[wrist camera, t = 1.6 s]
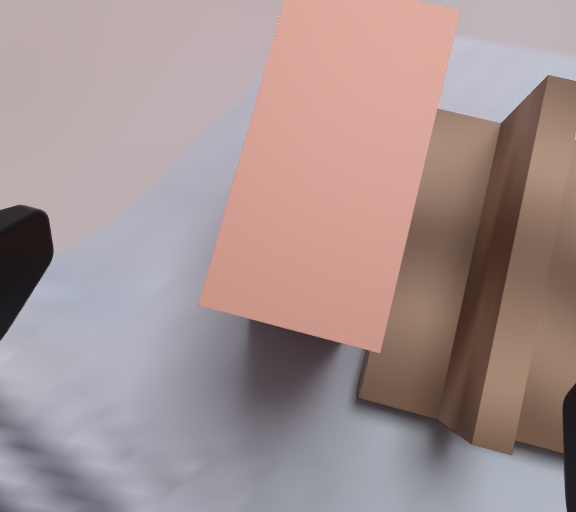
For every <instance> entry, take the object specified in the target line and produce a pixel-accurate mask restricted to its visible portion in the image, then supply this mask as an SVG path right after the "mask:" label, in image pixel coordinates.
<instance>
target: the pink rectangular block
mask: <svg viewBox="0 0 576 512" xmlns="http://www.w3.org/2000/svg"><path fill="white" fill-rule="evenodd" d="M459 14H460V10H456V9H452V8H447V7H442V6H437V5H433V4H428V3H423V2H419V1H414V0H284V3H283V7H282V10H281V14H280V17H279V21H278V24H277V28H276V32H275V35H274V39H273V42H272V46H271V49H270V53H269V56H268V60H267V63H266V67H265V71H264V74H263V78H262V81H261V85H260V88H259V92H258V95H257V99H256V102H255V106H254V110H253V113H252V117H251V120H250V124H249V127H248V131H247V134H246V138H245V142H244V145H243V149H242V152H241V156H240V159H239V163H238V166H237V170H236V173H235V177H234V181H233V184H232V188H231V191H230V195H229V198H228V202H227V205H226V209H225V212H224V216H223V220H222V223H221V227H220V230H219V234H218V237H217V241H216V244H215V248H214V252H213V255H212V259H211V262H210V266H209V269H208V273H207V276H206V280H205V283H204V287H203V291H202V294H201V298H200V301H199V306H203V307H207V308H210V309H214V310H218V311H222V312H225V313H229V314H233V315H237V316H241V317H244V318H248V319H252V320H256V321H260V322H263V323H267V324H271V325H275V326H278V327H282V328H286V329H290V330H294V331H297V332H301V333H305V334H309V335H313V336H316V337H320V338H324V339H328V340H331V341H335V342H339V343H343V344H347V345H350V346H354V347H358V348H362V349H365V350H369V351H373V352H377V353H380V352H381V347H382V343H383V339H384V334H385V330H386V326H387V322H388V317H389V313H390V309H391V305H392V300H393V296H394V292H395V287H396V283H397V279H398V275H399V270H400V266H401V262H402V258H403V253H404V249H405V245H406V240H407V236H408V232H409V228H410V223H411V219H412V215H413V211H414V206H415V202H416V198H417V193H418V189H419V185H420V181H421V176H422V172H423V168H424V164H425V159H426V155H427V151H428V147H429V142H430V138H431V134H432V129H433V125H434V121H435V117H436V112H437V108H438V104H439V100H440V95H441V91H442V87H443V82H444V78H445V74H446V70H447V65H448V61H449V57H450V53H451V48H452V44H453V40H454V35H455V31H456V27H457V23H458V18H459Z"/></svg>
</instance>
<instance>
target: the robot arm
mask: <svg viewBox="0 0 576 512" xmlns="http://www.w3.org/2000/svg"><path fill="white" fill-rule="evenodd" d="M53 252H54V249H53V242H52V237H51V229H50V223H49V218H48V215H47V214H46V212H44V211H43V210H40V209H36V208H33V207H29V206H26V205H17V206H13V207H10V208H6V209H2V210H0V341H1V339H2V338H3V337H4V335H5V334H6V332H7V331H8V329H9V328H10V326H11V325H12V324H13V322H14V320H15V319H16V317H17V316H18V314H19V312H20V311H21V309H22V308H23V306H24V304H25V303H26V301H27V300H28V298H29V297H30V295H31V293H32V292H33V290H34V289H35V287H36V285H37V284H38V282H39V281H40V279H41V277H42V276H43V274H44V273H45V271H46V269H47V268H48V266H49V265H50V263H51V260H52V258H53ZM562 418H563V449H564V480H565V498H566V508H567V512H576V383H575V384H574V385H573V387H572V388H571V389H570V390H569V391H568V393H567V394H566V396H565V398H564V401H563V406H562Z"/></svg>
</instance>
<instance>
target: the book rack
mask: <svg viewBox="0 0 576 512" xmlns="http://www.w3.org/2000/svg"><path fill="white" fill-rule="evenodd" d="M575 133H576V81H573V80H569V79H564V78H560V77H555V76H551V75H548V76H547V77H546V78H545V79H544V80H543V81H542V82H541V83H540V84H539V85H538V86H537V87H536V88H535V89H534V90H533V91H532V92H531V93H530V94H529V95H528V96H527V97H526V98H525V99H524V100H523V101H522V102H521V103H520V105H519V106H518V107H517V108H516V109H515V110H514V111H513V112H512V113H511V114H510V115H509V116H508V117H507V118H506V119H505V120H504V121H503V122H502V123H497V122H493V121H488V120H484V119H480V118H475V117H471V116H467V115H462V114H458V113H454V112H449V111H445V110H440V109H437V112H436V117H435V121H434V125H433V129H432V134H431V138H430V142H429V147H428V151H427V155H426V159H425V164H424V168H423V172H422V176H421V181H420V185H419V189H418V193H417V198H416V202H415V206H414V211H413V215H412V219H411V223H410V228H409V232H408V236H407V240H406V245H405V249H404V253H403V258H402V262H401V266H400V270H399V275H398V279H397V283H396V287H395V292H394V296H393V300H392V305H391V309H390V313H389V317H388V322H387V326H386V330H385V334H384V339H383V343H382V347H381V352H380V353H377V352H373V351H369V350H367V352H366V356H365V361H364V365H363V369H362V373H361V377H360V382H359V386H358V390H357V396H358V397H359V398H361V399H365V400H368V401H372V402H376V403H380V404H383V405H387V406H391V407H394V408H398V409H402V410H405V411H409V412H413V413H416V414H420V415H424V416H428V417H431V418H435V419H438V420H439V421H440V422H442V423H443V424H444V425H446V426H447V427H449V428H450V429H451V430H453V431H454V432H455V433H457V434H458V435H460V436H461V437H462V438H464V439H465V440H466V441H468V442H469V443H471V444H472V445H476V446H479V447H483V448H487V449H490V450H494V451H498V452H501V453H505V454H509V455H512V453H513V448H514V443H515V440H516V441H520V442H523V443H527V444H531V445H535V446H538V447H542V448H546V449H549V450H553V451H557V452H560V453H564V449H563V418H562V406H563V401H564V398H565V396H566V394H567V393H568V391H569V390H570V389H571V388H572V387H573V385H574V384H575V383H576V141H575V140H574V138H575Z"/></svg>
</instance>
